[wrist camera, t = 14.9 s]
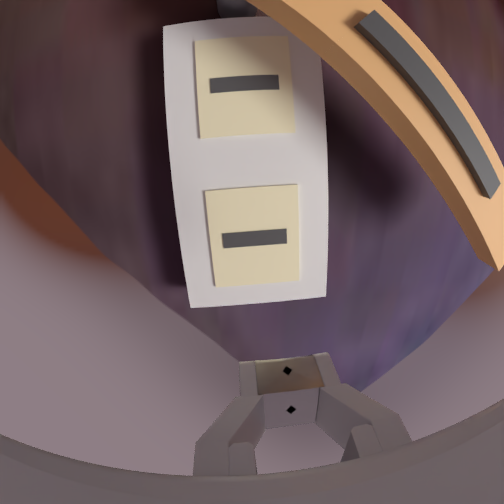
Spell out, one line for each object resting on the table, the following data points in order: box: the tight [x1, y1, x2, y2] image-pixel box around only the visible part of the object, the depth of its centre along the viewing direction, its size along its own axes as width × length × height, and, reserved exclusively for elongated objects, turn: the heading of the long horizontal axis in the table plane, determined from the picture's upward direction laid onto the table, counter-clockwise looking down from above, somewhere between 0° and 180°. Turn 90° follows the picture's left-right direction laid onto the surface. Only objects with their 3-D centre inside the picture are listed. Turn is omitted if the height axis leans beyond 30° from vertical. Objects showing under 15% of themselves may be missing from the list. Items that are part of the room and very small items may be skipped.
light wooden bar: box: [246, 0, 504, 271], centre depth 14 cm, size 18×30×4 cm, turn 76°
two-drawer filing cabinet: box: [163, 0, 328, 308], centre depth 21 cm, size 29×12×8 cm, turn 4°
